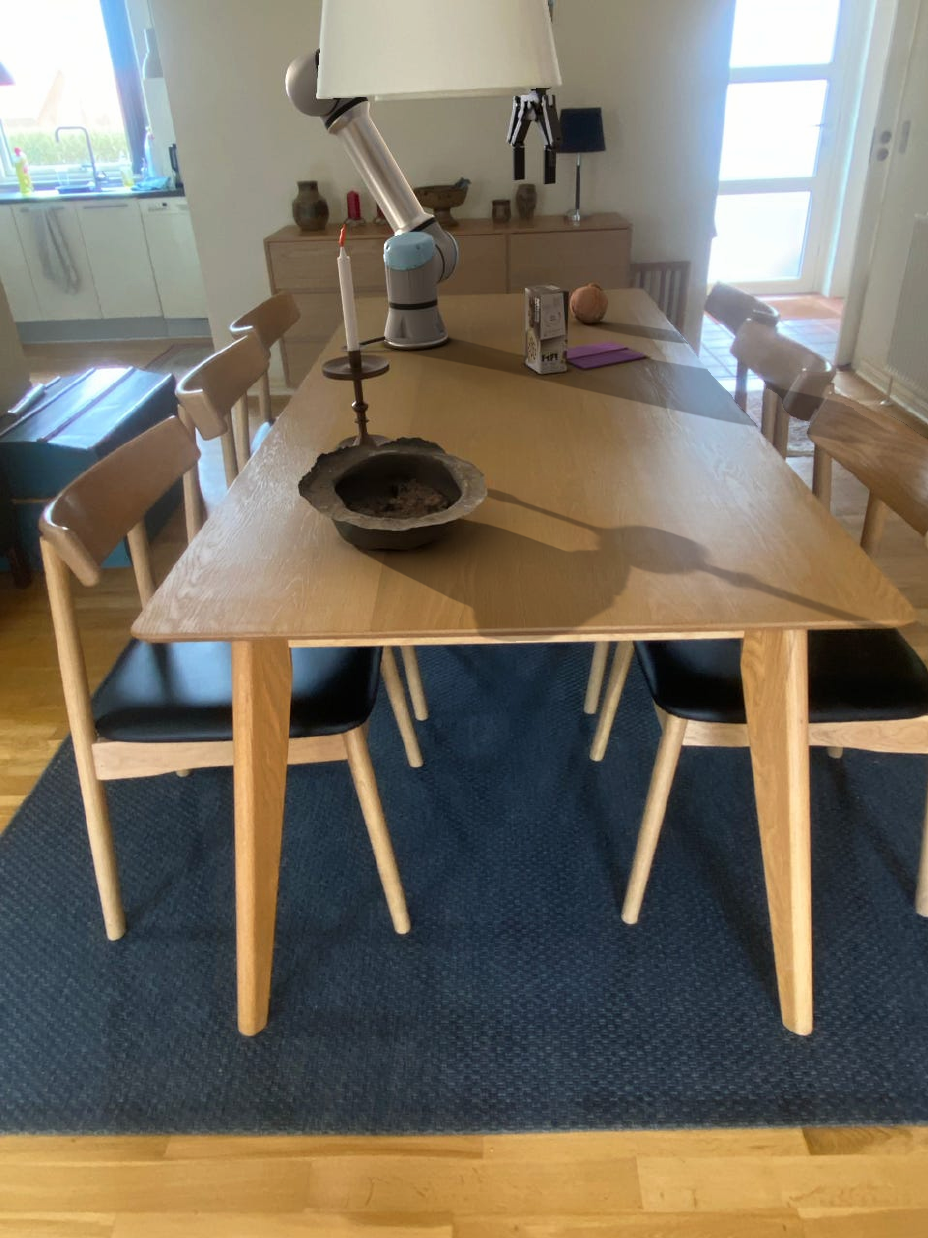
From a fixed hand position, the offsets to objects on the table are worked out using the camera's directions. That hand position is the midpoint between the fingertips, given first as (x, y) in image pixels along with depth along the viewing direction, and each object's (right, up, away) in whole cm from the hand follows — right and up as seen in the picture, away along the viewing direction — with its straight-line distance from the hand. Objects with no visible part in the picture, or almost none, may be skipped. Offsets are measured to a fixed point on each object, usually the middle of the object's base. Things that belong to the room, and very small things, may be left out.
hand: (533, 181), depth 184 cm
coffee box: (+2, -44, -8) cm, 45 cm away
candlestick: (-33, -69, -44) cm, 88 cm away
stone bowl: (-25, -86, -69) cm, 113 cm away
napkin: (+14, -40, -2) cm, 42 cm away
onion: (+16, -23, +23) cm, 37 cm away
